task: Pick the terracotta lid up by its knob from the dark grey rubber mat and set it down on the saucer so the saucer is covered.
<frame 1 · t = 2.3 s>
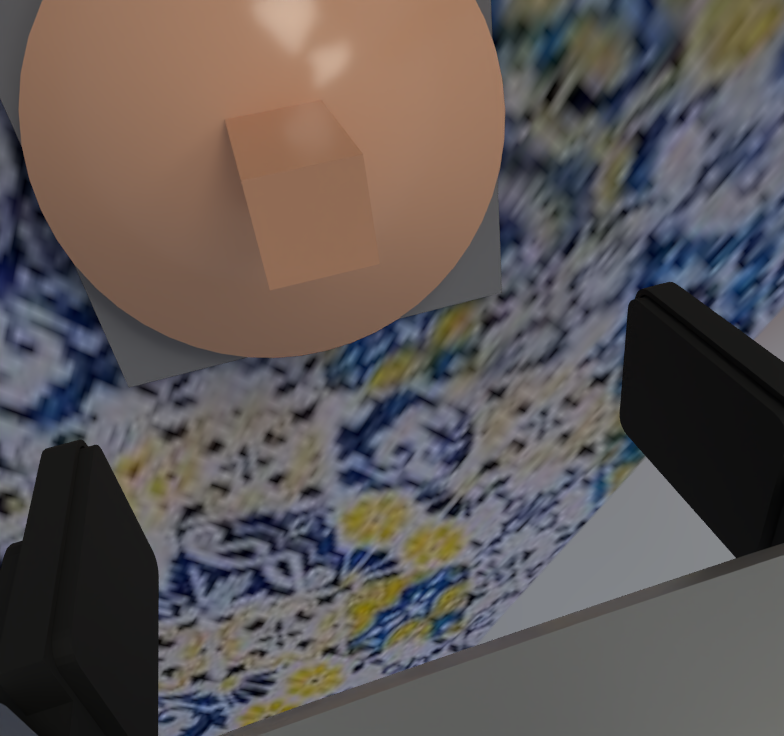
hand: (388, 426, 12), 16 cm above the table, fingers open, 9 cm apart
mat: (278, 144, 25), on the table
lid: (280, 149, 24), point 1 cm above the table, touching mat
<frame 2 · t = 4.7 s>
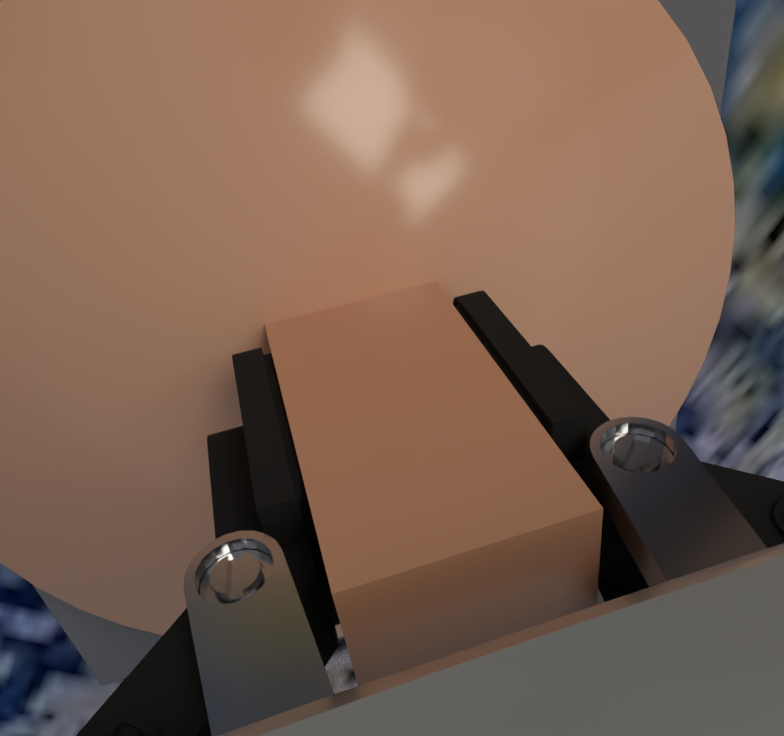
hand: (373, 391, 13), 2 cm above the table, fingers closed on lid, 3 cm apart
mat: (347, 332, 15), on the table
lid: (353, 347, 14), point 1 cm above the table, touching gripper, mat
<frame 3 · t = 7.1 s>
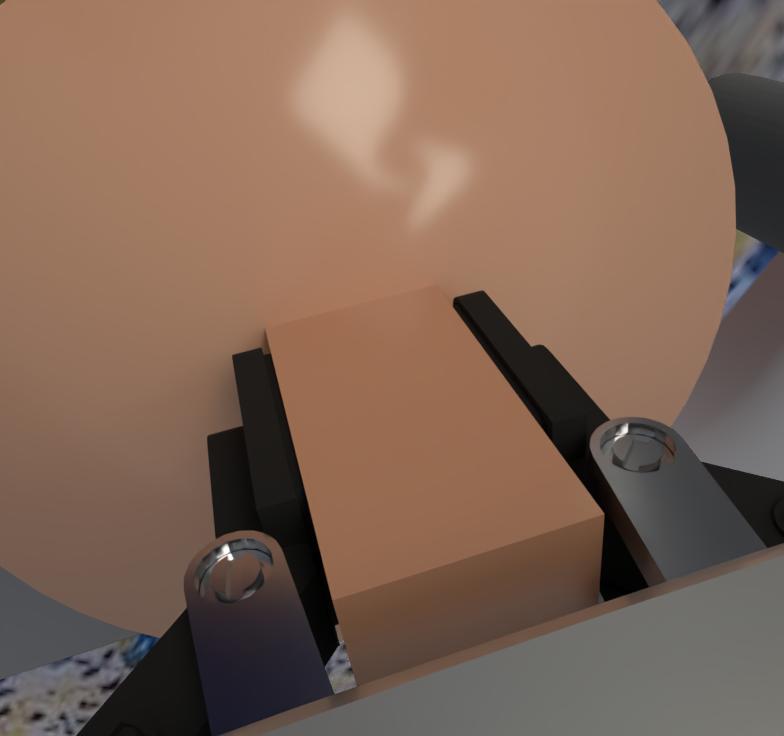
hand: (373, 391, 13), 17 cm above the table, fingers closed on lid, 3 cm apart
bottle: (712, 139, 32), on the table
mat: (49, 531, 32), on the table
lid: (354, 350, 14), point 15 cm above the table, touching gripper
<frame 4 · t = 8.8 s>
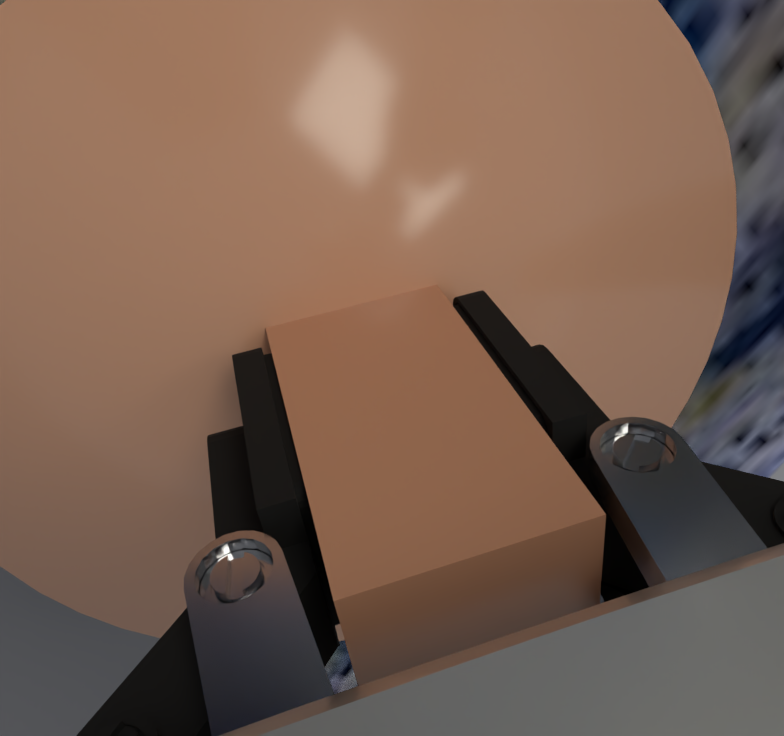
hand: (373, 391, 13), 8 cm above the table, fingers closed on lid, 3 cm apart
mat: (24, 666, 26), on the table
lid: (354, 350, 14), point 7 cm above the table, touching gripper
when the fingers open (6 cm above the table, at t = 9.9 s): lid drops 2 cm, resting on saucer.
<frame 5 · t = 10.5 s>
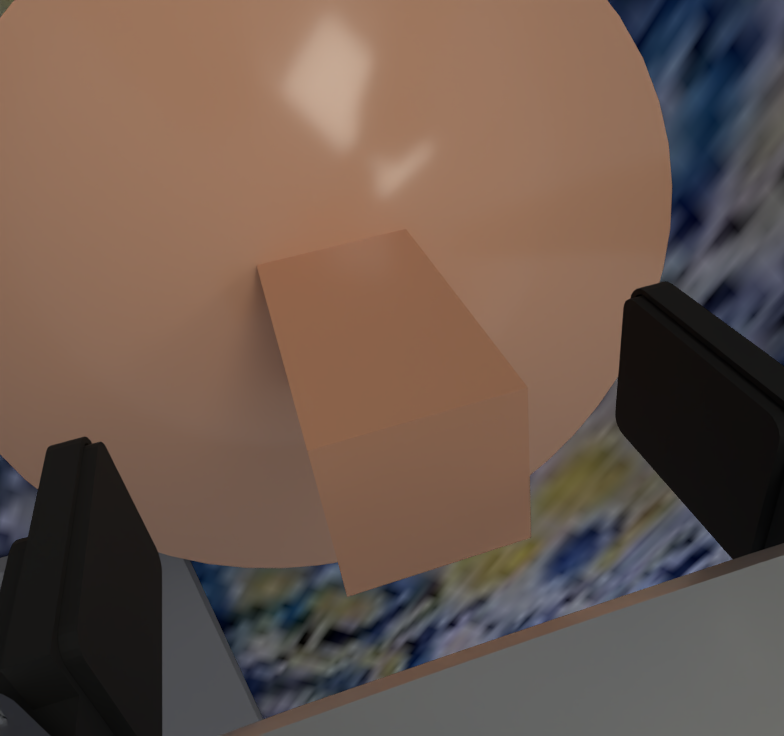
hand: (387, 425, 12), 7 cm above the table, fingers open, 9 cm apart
mat: (11, 730, 24), on the table
lid: (336, 292, 16), point 2 cm above the table, touching saucer
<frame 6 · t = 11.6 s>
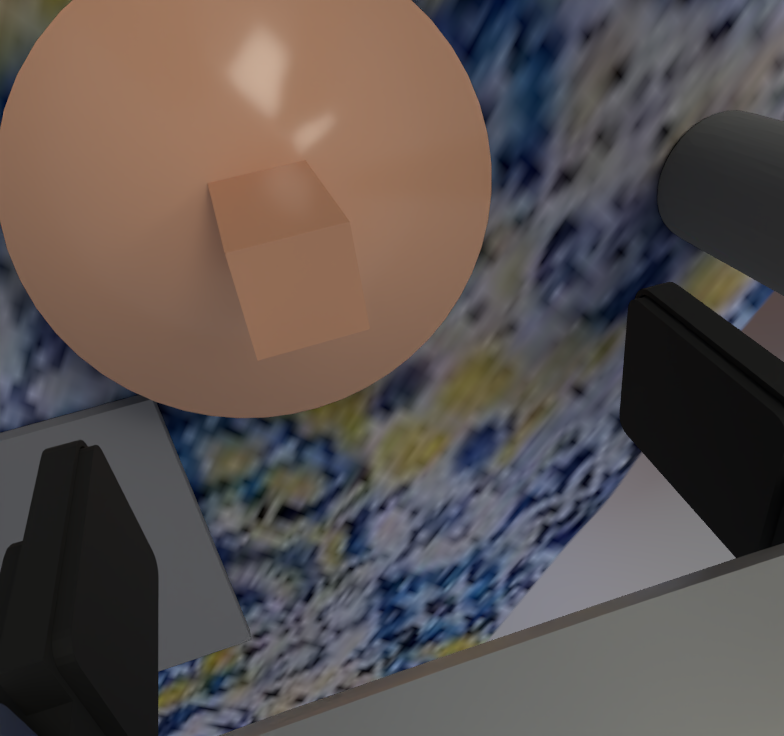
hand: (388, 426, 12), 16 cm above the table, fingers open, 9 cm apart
bottle: (709, 175, 31), on the table
mat: (32, 581, 31), on the table
lid: (264, 208, 24), point 2 cm above the table, touching saucer
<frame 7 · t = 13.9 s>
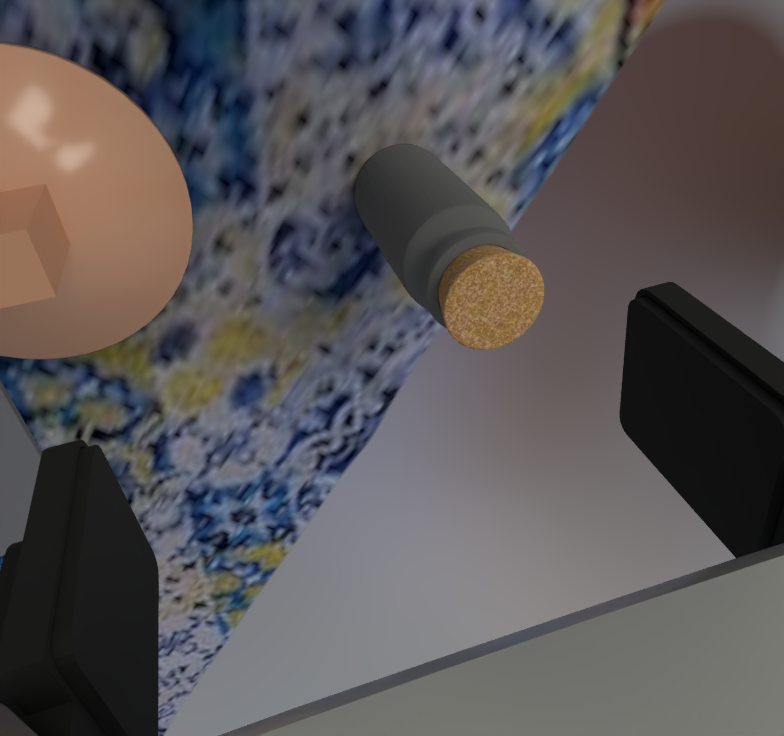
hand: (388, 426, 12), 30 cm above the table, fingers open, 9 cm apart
bottle: (398, 190, 42), on the table
lid: (27, 214, 35), point 2 cm above the table, touching saucer
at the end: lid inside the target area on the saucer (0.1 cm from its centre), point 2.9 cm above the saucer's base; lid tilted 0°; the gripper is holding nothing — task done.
